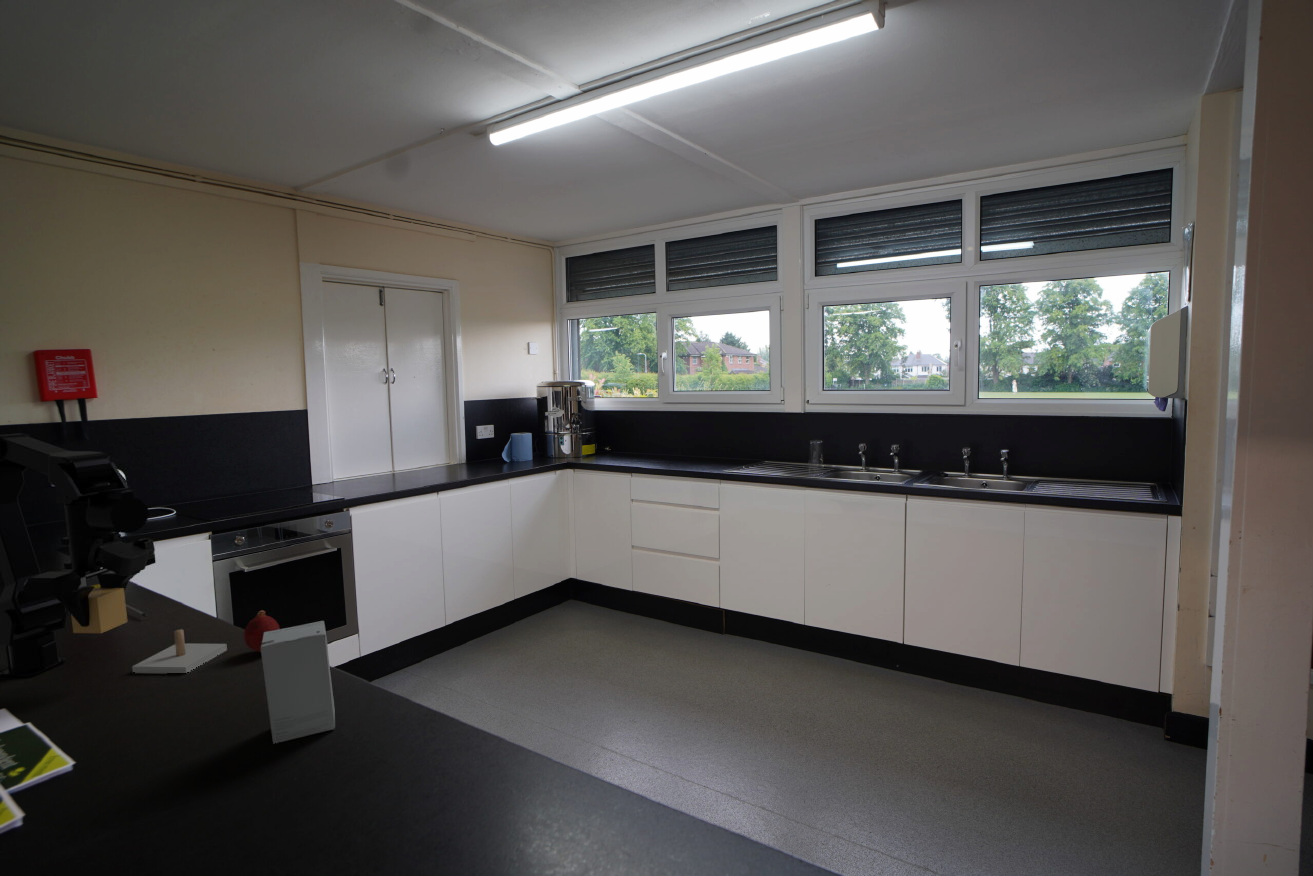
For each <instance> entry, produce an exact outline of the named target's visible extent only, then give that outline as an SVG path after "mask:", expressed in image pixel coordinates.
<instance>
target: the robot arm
mask: <svg viewBox="0 0 1313 876" xmlns="http://www.w3.org/2000/svg"><path fill="white" fill-rule="evenodd" d="M28 469H31V470H33V471H36V472H38V473H41V474H44V475H45V476H47V483H49V484H50V485H52V486H53V487H55V488H56V489H58V490H60V491H61V492H62V494H60V495H59V496H58V497H57V498H56V502H57V503H59V504H63V506H64V515H65V516H64V517H65V522H66V523H65V524H66V531H67V532H66V534H67V536H65V537H64V538H61V540H60V541H61V545H62V546H68V550H69V551H68V553H69V559H70V561H68V562H67V561H66V562H64V563H63V567H64V568H63V569H64V570H71V571H47V572H43V573H41V569H40V567H39V564H38V561H37V560H38V559H37V557H36V554H35V551H34V547H33V545H32V541H31V538H30V535H29V531H28V528H27V525H26V522H25V518H24V515H23V512H22V509H21V506H20V503H19V495H20V494H21V491H22V489H23V487H24V485H25V478H24V477H25V476H24V474H25V472H26V471H27V470H28ZM127 483H128V480H126V478H125V476H123V475H122V474H121V472H120V471H119V469H118V468H117V466H116V464H115V463H114V461H113V460H112V459H111V457H110V456H109V455H108V454H107V453H104V452H101V451H88V450H87V451H83V450H81V451H79V450H78V451H73V450H68V449H66V448H63V447H59V446H57V445H53V444H50V443H49V442H48V443H47V442H45V441H42V440H39V439H36V438H33V437H32V436H31V435H30V434H26V433H10V434H9V433H8V434H0V573H1V578H2V581H3V582H4V583H3V584H4V588H3V590H2V593H1V595H0V645H1V646H5V653H6V663H7V669H5V670H3V671H1V672H0V677H33V676H36V675H39V674H41V673H43V672H44V671H47V670H49V669H51V668H54V667H56V666H58V665H60V664H63V663H64V662H66V661H67V660H66V657H65V658H64V657H62V658H61V657H60V658H59V653H58V644H57V643H58V642H57V641H56V639H55V632H54V631H58V630H63V629H65V628H66V626H65V625H66V620H67V612H69V613H70V614H72V616H73V617H74V618H75V619H76V620H77V622H78V623H79V624H80V625H81V626H82V627H87V626H89V620H90V614H89V600H88V595H89V594H90V592H91V591H92V590H93V588H94V586H93V585H90V586H89V585H87V579H91V578H93V577H97V579H98V583H99V584H100V586H101V588H124V593H126V592H125V591H126V590H127V586H128V583H129V582H130V581H131V580H132V579H133V578H134V577H135V576H137V574H140V573H141V571H143V570H144V571H145V569H146V567H148V566H151V565H154V564H156V562H157V561H156V554H155V550H156V549H155V543H154V540H153V539H151V538H148V537H145V538H140V539H137V540H136V541H134V542H133V541H131V542H130V541H129V542H123V539H122V535H121V534H120V533H122V534H123V533H124V534H130V533H134V532H135V533H136V532H137V531H139V530H140V529H141V528H143V526H145V525H146V524H147V523H146V522H147V521H148V518H149V515H150V514H149V508H148V507H147V505H146V504H145V502H144V501H143V500H141V499H140V498H138V497H134V491H133V490H132V489H130V486H129V485H128V484H127Z"/></svg>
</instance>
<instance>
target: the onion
mask: <svg viewBox="0 0 1313 876" xmlns="http://www.w3.org/2000/svg"><path fill="white" fill-rule="evenodd" d="M279 629H281V628H280V625H279V623H278V621H277V620H276V619H274V618H273V617H272V616H269V615H266V611H265V610H260V611H258V612H257V614H256V615H255V617H254V618H252V619H251V620H250V621H249V622H248V624H247V625H246V627H245V628H244V633H243V639H244V640H243V641H244V643H245V645H246V646H247V647H248V648H249V649H251V650H253V651H255V652H258V653H261V644H262V640H263V635H264V632H268V631H274V630H279Z"/></svg>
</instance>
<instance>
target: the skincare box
mask: <svg viewBox="0 0 1313 876" xmlns="http://www.w3.org/2000/svg"><path fill="white" fill-rule="evenodd" d="M327 637H328V636H327V632H326V624H325V621H324V620H320V621H315V622H311V623H305V624H300V625H295V626H291V627H290V626H289V627H285V628H280V629H279V630H274V631H268V632H264V635H263V640H262V644H261V652H260V655H261V661H262V667H263V677H264V684H265V691H266V700H267V707H268V716H269V722H270V724H269V725H270V731H271V737H272V744H273V745H276V744H278V743H279V742H280V743H282V742H283V743H284V742H288V741H290V740H294V739H295V740H296V739H299V738H304V737H307V736H311V735H315V734H319V733H324V732H327V731H332V730H335V728H336V716H335V714H336V712H335V703H334V702H335V701H334V695H333V694H334V692H333V685H332V677H331V676H332V675H331V668H330V660H329V658H330V657H329V647H328V638H327ZM275 743H276V744H275Z"/></svg>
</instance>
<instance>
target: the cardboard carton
mask: <svg viewBox="0 0 1313 876" xmlns="http://www.w3.org/2000/svg"><path fill="white" fill-rule="evenodd" d="M125 594H126V593H125V592H124V588H95V589H93V590H92V591H91V592H90V594H89V595H88V600H89V614H90V620H89V626H87V627H82V626H81V625H80V624H79V623H78V622H77V620H76V619H75V618H74V617H73V616H72V614H71V613H70V614H71V615H70V617H71V623H72V624H71V625H72V634H103V633H105V632H108V631H110V630H112V629H115V628H116V627H119V626H122V625H123V624H126V623H128V615H127V608H126V605H127V604H126V597H125Z"/></svg>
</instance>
